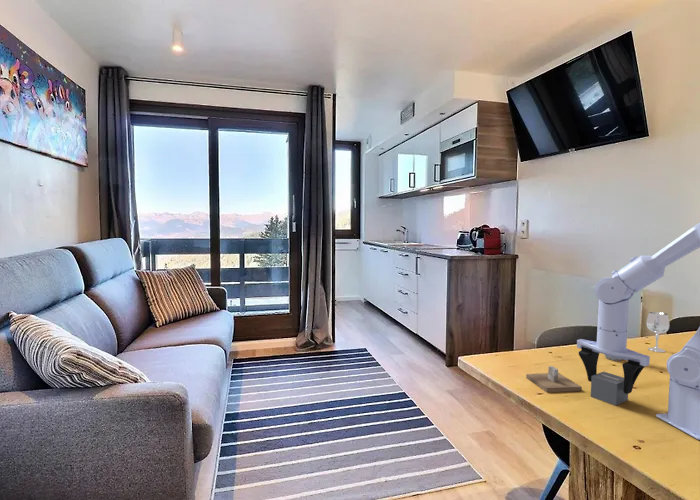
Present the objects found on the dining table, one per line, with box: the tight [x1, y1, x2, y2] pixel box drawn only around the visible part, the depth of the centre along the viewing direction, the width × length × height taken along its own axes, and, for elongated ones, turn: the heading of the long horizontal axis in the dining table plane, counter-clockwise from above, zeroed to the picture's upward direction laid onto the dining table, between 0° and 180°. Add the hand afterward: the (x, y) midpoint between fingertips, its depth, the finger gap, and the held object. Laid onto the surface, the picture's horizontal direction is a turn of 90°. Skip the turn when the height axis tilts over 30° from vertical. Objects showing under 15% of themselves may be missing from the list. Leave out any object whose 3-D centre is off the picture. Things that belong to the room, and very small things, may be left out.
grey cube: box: [590, 371, 629, 406], centre depth 90 cm, size 5×5×5 cm
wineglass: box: [646, 311, 670, 353], centre depth 125 cm, size 6×6×12 cm
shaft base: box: [525, 365, 583, 393], centre depth 98 cm, size 9×9×4 cm
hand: (609, 386), depth 90 cm, fingers open, 7 cm apart
